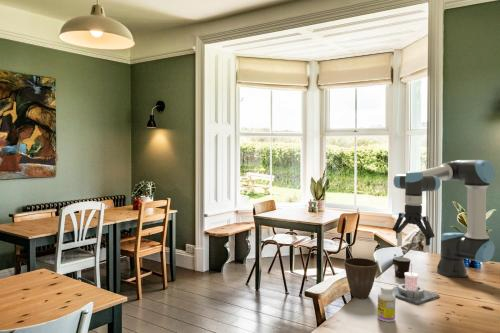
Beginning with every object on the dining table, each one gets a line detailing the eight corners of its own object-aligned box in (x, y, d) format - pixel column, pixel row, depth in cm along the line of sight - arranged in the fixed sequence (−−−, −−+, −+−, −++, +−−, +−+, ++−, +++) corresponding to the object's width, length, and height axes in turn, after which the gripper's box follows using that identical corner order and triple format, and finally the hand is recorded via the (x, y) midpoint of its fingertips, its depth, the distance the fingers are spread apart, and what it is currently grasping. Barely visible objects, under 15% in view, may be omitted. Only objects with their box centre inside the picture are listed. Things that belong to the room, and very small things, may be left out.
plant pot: (359, 303, 171) (360, 268, 171) (336, 293, 185) (337, 259, 184) (383, 298, 178) (384, 264, 178) (360, 288, 191) (361, 256, 191)
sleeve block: (404, 286, 197) (405, 279, 197) (439, 297, 182) (439, 289, 182) (382, 292, 186) (382, 285, 186) (417, 304, 172) (417, 297, 171)
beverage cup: (414, 290, 187) (415, 261, 187) (420, 295, 181) (421, 265, 181) (401, 290, 187) (402, 261, 187) (407, 295, 181) (408, 265, 181)
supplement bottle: (374, 315, 159) (375, 284, 158) (390, 315, 159) (391, 284, 159) (381, 322, 152) (382, 290, 152) (397, 322, 153) (398, 290, 152)
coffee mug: (411, 280, 206) (412, 261, 206) (394, 278, 208) (395, 260, 208) (407, 273, 218) (407, 256, 218) (391, 272, 220) (391, 255, 219)
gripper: (385, 202, 191) (384, 244, 192) (434, 208, 171) (433, 255, 171) (395, 201, 195) (394, 243, 196) (443, 206, 175) (442, 253, 176)
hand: (412, 249), depth 184 cm, fingers open, 13 cm apart
